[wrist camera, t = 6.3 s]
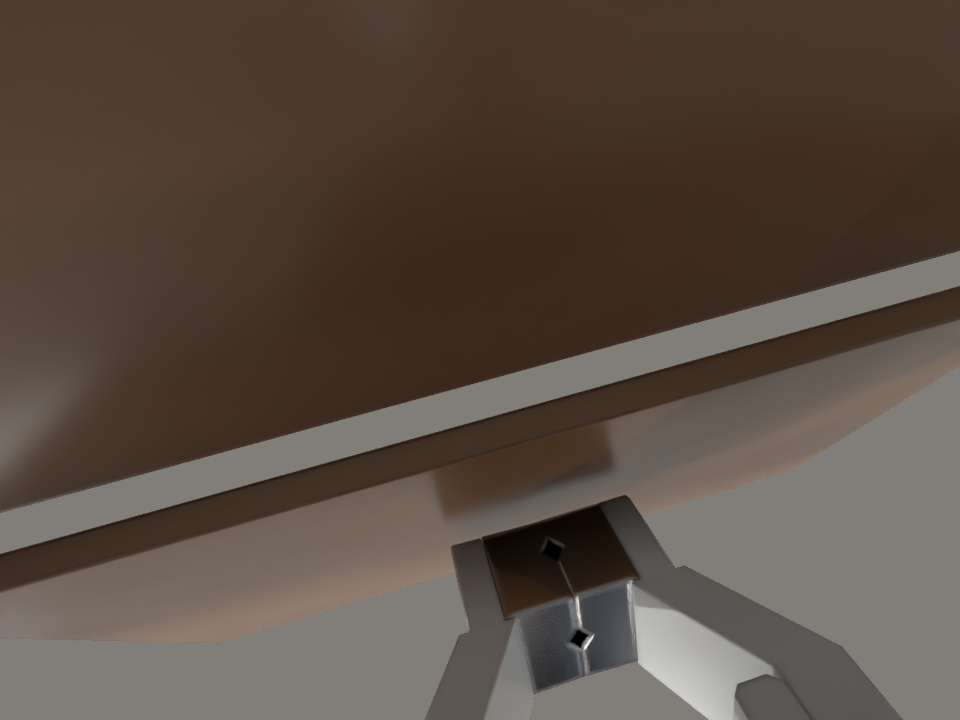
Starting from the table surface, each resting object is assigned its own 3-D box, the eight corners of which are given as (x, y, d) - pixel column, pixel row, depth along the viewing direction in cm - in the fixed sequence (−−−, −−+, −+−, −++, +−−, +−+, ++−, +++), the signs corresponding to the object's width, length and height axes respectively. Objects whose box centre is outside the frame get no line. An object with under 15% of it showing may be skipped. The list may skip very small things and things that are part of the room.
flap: (-147, 593, 6) (-155, 636, 6) (1078, 251, 7) (1103, 277, 7) (215, 625, 13) (217, 644, 13) (784, 455, 15) (791, 470, 15)
